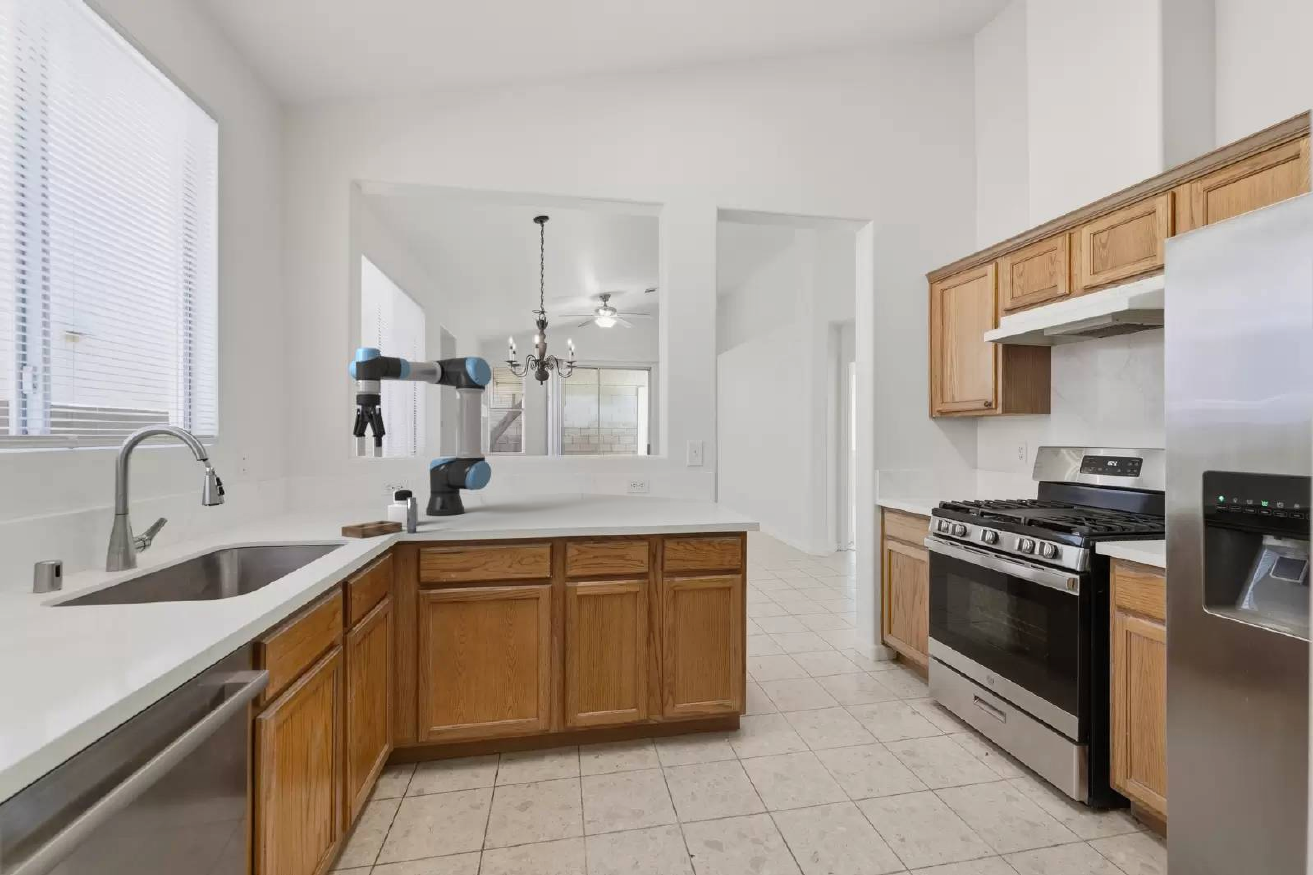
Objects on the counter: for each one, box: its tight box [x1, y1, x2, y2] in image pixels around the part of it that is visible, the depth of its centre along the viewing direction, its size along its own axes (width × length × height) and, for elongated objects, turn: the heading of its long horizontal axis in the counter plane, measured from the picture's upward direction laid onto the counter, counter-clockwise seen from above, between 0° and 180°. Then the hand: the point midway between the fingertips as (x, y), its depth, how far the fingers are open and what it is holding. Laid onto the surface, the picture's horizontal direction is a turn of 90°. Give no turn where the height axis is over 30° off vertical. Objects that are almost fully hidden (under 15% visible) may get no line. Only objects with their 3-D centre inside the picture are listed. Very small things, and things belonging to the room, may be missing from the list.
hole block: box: [341, 520, 403, 539], centre depth 214 cm, size 16×10×3 cm, turn 152°
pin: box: [406, 496, 418, 534], centre depth 215 cm, size 3×3×12 cm
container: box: [387, 489, 419, 528], centre depth 231 cm, size 8×8×13 cm
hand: (369, 456), depth 212 cm, fingers open, 13 cm apart
